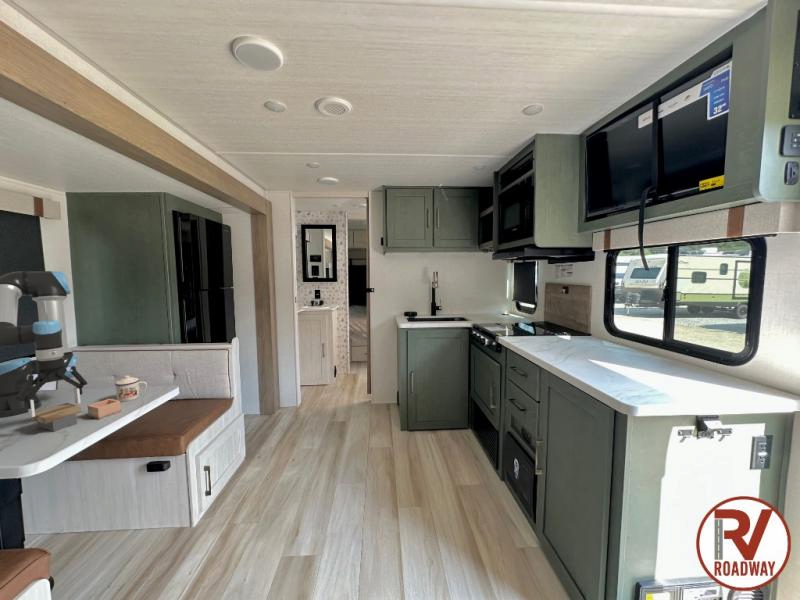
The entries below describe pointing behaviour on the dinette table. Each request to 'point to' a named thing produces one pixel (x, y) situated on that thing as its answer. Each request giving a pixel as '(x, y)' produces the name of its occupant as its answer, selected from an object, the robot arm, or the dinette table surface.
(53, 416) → the lid
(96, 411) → the pink hollow square box
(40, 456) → the dinette table surface
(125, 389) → the teacup with lid
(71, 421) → the gray rectangular block
